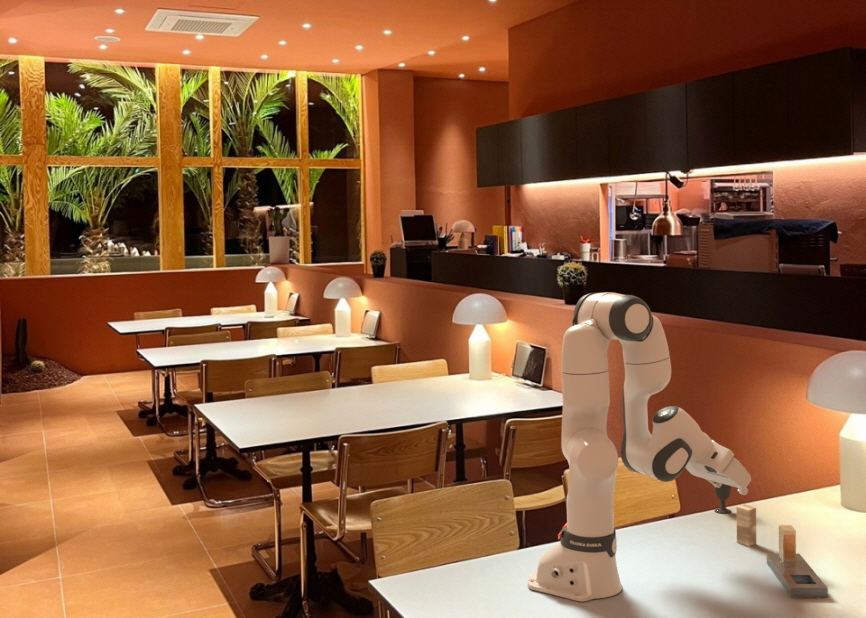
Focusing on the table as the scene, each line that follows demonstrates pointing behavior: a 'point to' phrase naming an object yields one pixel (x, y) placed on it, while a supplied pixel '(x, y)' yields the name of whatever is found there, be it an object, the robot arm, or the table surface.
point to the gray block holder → (794, 568)
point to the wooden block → (746, 525)
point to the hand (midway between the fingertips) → (731, 489)
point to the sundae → (723, 498)
